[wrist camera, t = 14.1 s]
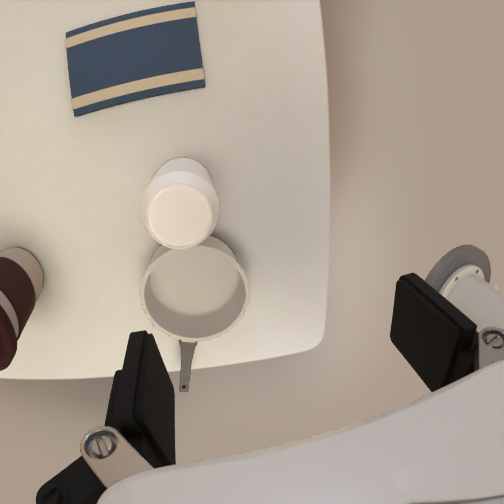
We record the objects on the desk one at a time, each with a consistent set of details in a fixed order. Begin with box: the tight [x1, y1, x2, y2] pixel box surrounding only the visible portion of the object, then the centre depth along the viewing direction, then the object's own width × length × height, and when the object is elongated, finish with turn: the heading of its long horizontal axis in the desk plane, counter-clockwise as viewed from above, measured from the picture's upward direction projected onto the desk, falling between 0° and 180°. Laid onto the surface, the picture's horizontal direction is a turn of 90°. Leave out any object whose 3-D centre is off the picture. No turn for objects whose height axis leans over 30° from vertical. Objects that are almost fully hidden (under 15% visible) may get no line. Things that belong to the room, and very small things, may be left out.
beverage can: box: [140, 158, 220, 249], centre depth 28 cm, size 6×6×12 cm
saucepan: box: [140, 235, 250, 392], centre depth 37 cm, size 12×20×6 cm, turn 169°
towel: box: [66, 2, 205, 117], centre depth 27 cm, size 14×10×1 cm
